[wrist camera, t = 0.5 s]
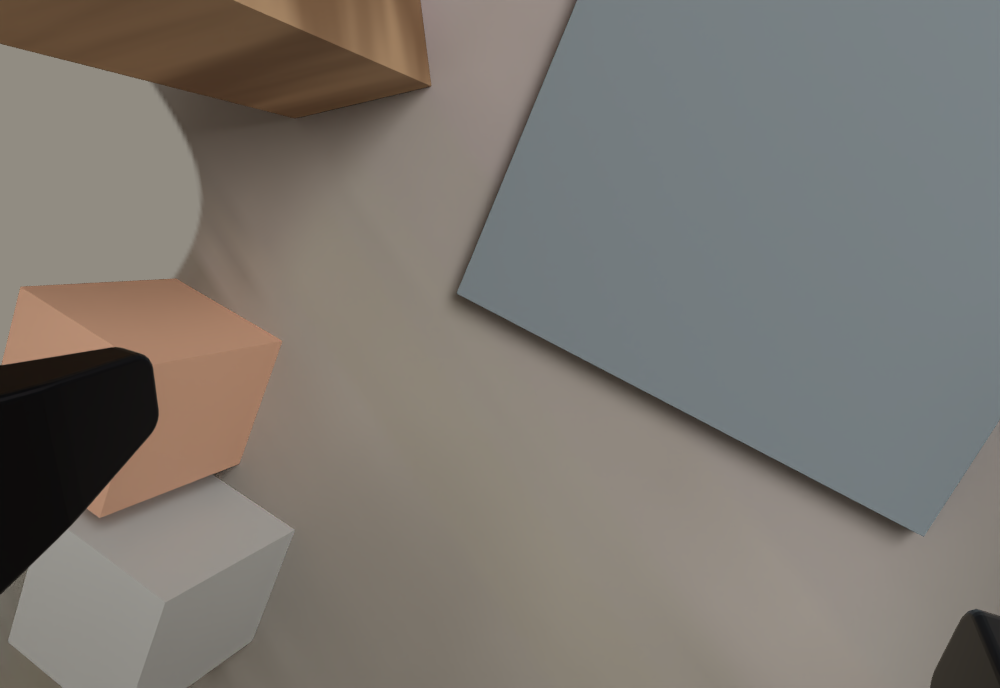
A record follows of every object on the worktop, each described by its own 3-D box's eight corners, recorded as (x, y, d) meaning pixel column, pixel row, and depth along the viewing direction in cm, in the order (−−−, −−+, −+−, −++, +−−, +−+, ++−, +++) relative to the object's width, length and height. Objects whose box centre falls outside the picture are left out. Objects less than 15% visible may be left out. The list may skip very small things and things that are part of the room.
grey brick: (253, 640, 28) (120, 735, 23) (155, 568, 30) (7, 641, 24) (295, 529, 27) (165, 602, 22) (191, 459, 28) (44, 511, 23)
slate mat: (920, 528, 20) (923, 536, 19) (464, 292, 24) (456, 293, 23) (1340, -123, 15) (1360, -137, 15) (701, -280, 19) (698, -296, 19)
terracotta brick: (240, 463, 28) (99, 518, 22) (140, 398, 29) (-16, 434, 23) (283, 340, 26) (145, 366, 21) (176, 278, 28) (20, 286, 22)
